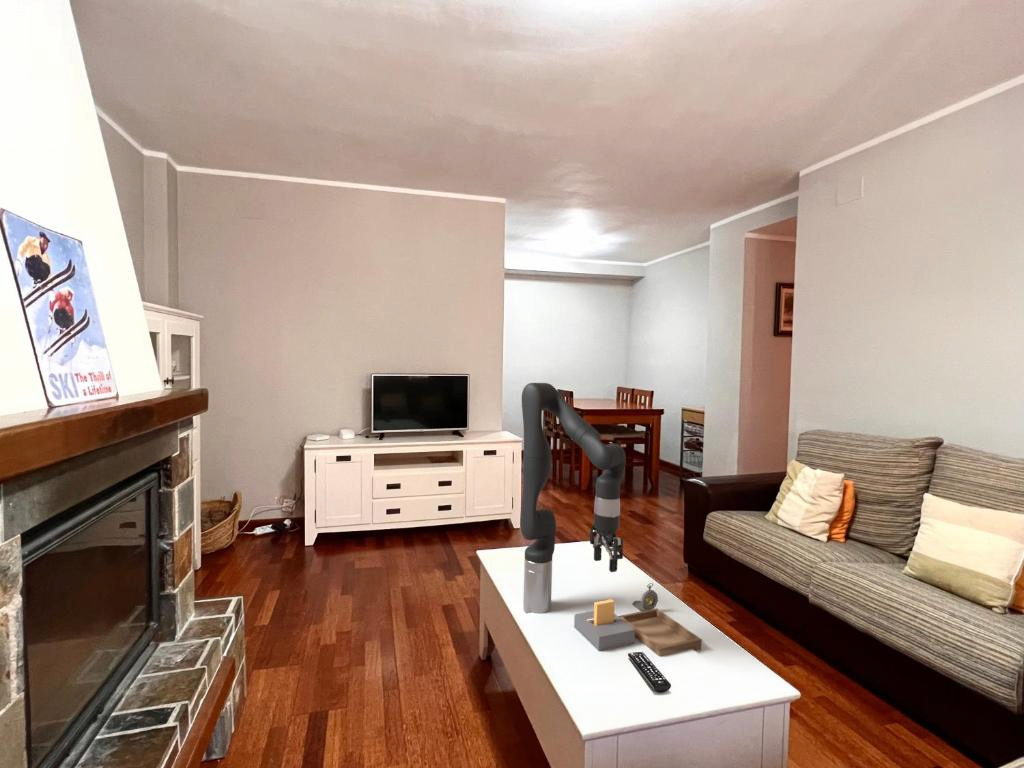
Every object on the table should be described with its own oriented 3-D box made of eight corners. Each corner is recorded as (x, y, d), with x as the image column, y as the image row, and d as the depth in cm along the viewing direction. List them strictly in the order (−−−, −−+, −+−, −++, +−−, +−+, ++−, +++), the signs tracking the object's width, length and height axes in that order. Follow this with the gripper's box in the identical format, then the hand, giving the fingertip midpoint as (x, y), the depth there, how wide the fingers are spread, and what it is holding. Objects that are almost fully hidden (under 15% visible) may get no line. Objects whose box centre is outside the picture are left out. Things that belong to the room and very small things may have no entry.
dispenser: (574, 630, 156) (574, 613, 155) (607, 623, 160) (607, 606, 160) (598, 654, 143) (599, 635, 143) (634, 646, 147) (634, 628, 147)
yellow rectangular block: (593, 635, 151) (594, 602, 151) (610, 631, 153) (611, 599, 153) (596, 638, 150) (597, 604, 149) (613, 634, 152) (614, 601, 152)
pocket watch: (635, 601, 176) (636, 573, 176) (659, 608, 172) (660, 578, 171) (627, 611, 169) (628, 581, 169) (653, 618, 165) (654, 587, 164)
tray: (617, 625, 159) (618, 616, 159) (656, 617, 165) (657, 608, 165) (659, 659, 141) (659, 649, 141) (701, 649, 147) (701, 639, 146)
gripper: (583, 506, 155) (582, 558, 156) (609, 520, 142) (607, 577, 143) (604, 504, 158) (603, 555, 159) (631, 517, 145) (629, 573, 145)
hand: (605, 565), depth 151 cm, fingers open, 8 cm apart
